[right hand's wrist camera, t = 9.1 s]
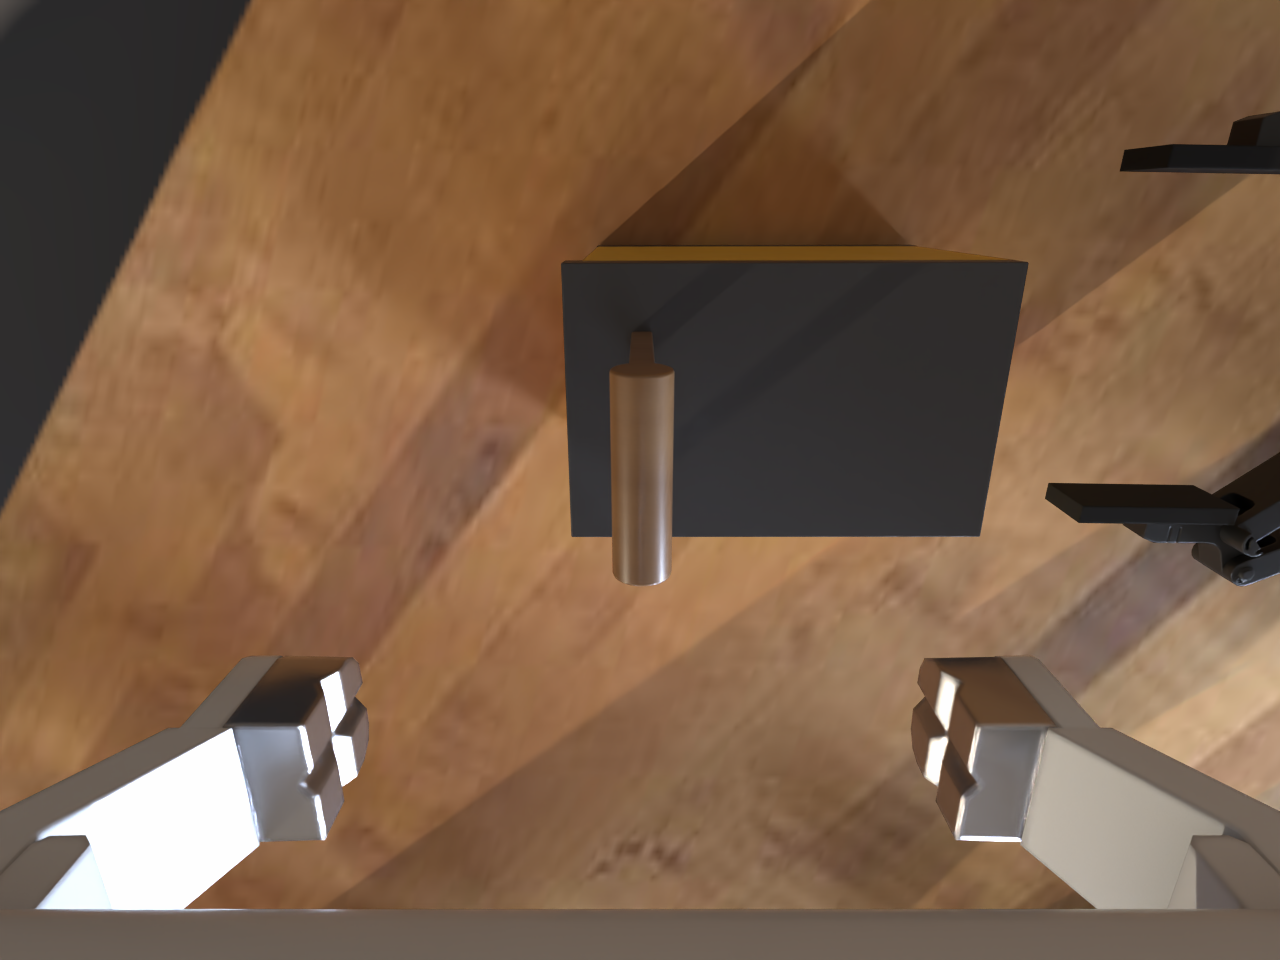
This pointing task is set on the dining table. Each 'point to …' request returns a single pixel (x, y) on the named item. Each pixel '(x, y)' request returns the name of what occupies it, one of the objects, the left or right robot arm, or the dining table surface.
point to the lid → (782, 399)
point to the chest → (775, 252)
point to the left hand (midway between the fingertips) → (1099, 344)
